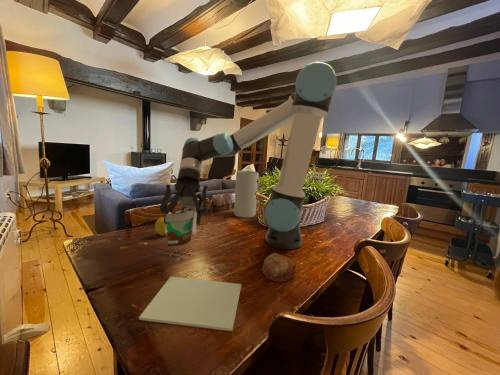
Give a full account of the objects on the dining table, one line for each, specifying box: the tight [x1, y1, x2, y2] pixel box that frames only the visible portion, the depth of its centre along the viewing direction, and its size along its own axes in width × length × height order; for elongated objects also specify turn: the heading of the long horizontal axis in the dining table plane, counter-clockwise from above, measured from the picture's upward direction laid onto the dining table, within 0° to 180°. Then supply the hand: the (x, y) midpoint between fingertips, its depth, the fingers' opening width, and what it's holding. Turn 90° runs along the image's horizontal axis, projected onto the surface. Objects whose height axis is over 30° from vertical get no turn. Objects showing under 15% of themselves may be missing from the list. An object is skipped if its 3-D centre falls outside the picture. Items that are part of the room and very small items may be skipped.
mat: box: [138, 276, 242, 332], centre depth 56 cm, size 20×16×1 cm
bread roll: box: [261, 252, 296, 283], centre depth 71 cm, size 10×10×8 cm
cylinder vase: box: [233, 170, 260, 219], centre depth 130 cm, size 12×12×25 cm
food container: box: [164, 205, 195, 247], centre depth 71 cm, size 12×6×10 cm, turn 173°
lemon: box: [154, 216, 166, 237], centre depth 93 cm, size 6×6×8 cm
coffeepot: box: [178, 192, 203, 227], centre depth 109 cm, size 15×9×18 cm, turn 59°
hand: (180, 233), depth 68 cm, fingers closed on food container, 7 cm apart
